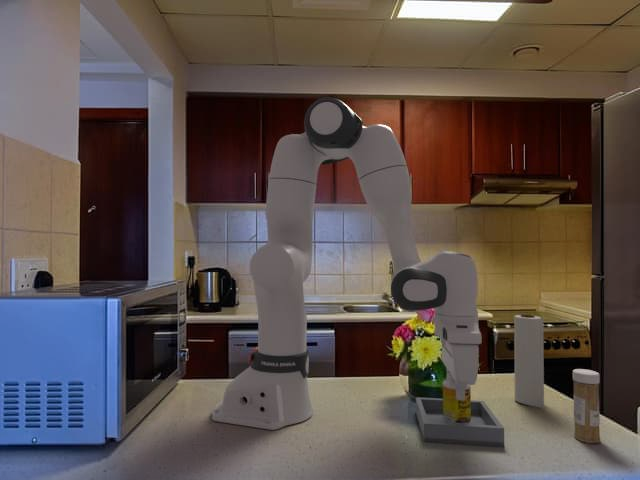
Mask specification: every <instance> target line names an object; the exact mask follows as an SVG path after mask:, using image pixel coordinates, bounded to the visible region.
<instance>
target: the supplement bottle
mask: <svg viewBox="0 0 640 480" xmlns="http://www.w3.org/2000/svg"><path fill="white" fill-rule="evenodd" d="M471 389H472V388H471V385H467V387H466V391H465V400H457V399H456V397H455V380H454V378H453V377H452V375H451V374H450V372H449V371H447V370H446V379H444V380H443V382H442V399H443V418H444V420H445V421H446V422H447V423H456V424H469V423H470V421H471V400H472V399H471V398H472V397H471Z"/></svg>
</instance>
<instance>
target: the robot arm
mask: <svg viewBox="0 0 640 480" xmlns="http://www.w3.org/2000/svg"><path fill="white" fill-rule="evenodd" d="M303 124H304V132H302V133H300V134H297V133H296V134H295V133H291V134H287V135H284V136H282V137H281V138H280V139H279V140H278V142H277V144H276V146H275V149H274V153H273V156H272V161H271V165H270V171H269V177H268V186H267V195H266V204H265V219H266V229H267V242H266V244H263V245H262V246H261V247H259V248H258V249H257V250H256V251H255V252H254V254H253V255H252V257H251V259H250V262H249V272H250V273H249V274H250V276H251V278H252V281H253V288H254V289H253V290H254V296H255V301H256V302H255V303H256V308H257V316H258V325H257V326H258V328H257V329H258V330H257V333H258V334H257V335H258V336H257V338H258V339H257V340H258V341H257V346H256V347H255V348H253V349H252V351H251V353H250V354H249V356H248V360H247V361H248V363H249V367H247V368H246V369H245V370H244V371H242V372H241V373H240V374H238V375H237V376H236V377H235V378H233V379H232V380H231V381H230V382H229V383H228V385H227V386H226V388H225V390H224V394H223V399H222V400H221V401H220V402H218V403H217V404H216V405H215V406H214V408H213V409H212V412H211V418H212V421H214V422H220V423H226V424H231V425H232V424H233V425H238V426H239V425H240V426H245V427H246V426H247V427H250V428H251V427H253V428H258V429H264V430H265V429H266V430H271V431H273V430H278V429H280V428H283V427H286V426H290V425H295V424H298V423H302V422H304V421H306V420H308V419H310V418H311V417H312V416H313V413H314V411H313V407H312V403H311V399H310V393H309V385H308V374H309V370H310V369H309V367H310V366H309V363H310V361H309V360H310V359H309V351H308V349H307V334H308V333H307V331H308V330H307V329H308V328H307V327H308V326H307V325H308V321H307V320H308V319H307V316H308V314H307V311H306V306H305V305H306V304H305V295H304V283H305V282H306V281H307V279H308V278H309V275H310V274H311V271H312V260H313V259H312V258H313V257H312V256H313V235H314V234H313V233H314V232H313V231H314V229H313V226H314V225H313V224H314V223H313V221H314V219H313V218H314V212H315V211H314V210H315V200H316V192H317V184H318V182H317V181H318V174H319V169H320V166H321V165H322V166H323V165H324V166H325V165H326V166H327V165H330V164H333V163H338V162H339V163H340V162H344V161H346V160H348V159H350V160H351V161H352V163H353V165H354V168H355V172H356V175H357V178H358V179H357V180H358V184H359V186H360V190H361V192H362V196H363V197H364V199H365V203H366V205H367V206H368V208H369V210H370V211H371V213H372V215H373V216H374V217H375V218H376V220H377V222H379V225H380V226H381V228H382V230H383V232H384V235H385V238H386V241H387V246H388V249H389V253H390V256H391V259H392V264H393V275H392V279H391V283H390V293H391V297H392V299H393V300H394V302H395V304H396V305H397V306H399V307H400V308H401V309H403V310H404V311H405V310H406V311H408V312H421V311H424V310H425V311H426V310H430V309H431V310H432V309H433V310H434V335H435V336H437V337H440V341H441V343H442V344H443V345H442V357H441V356H440V360H441V362H442V363H443V365H444V366H445V367H446V372H447V371H449V372H450V374H451V375H452V377H453V378H454V380H455V397H456V399H457V400H465V391H466V387H467V385H470V386H474V385H476V383H477V381H478V375H479V373H478V372H479V371H478V370H479V351H480V350H479V345H481V344H482V340H483V339H482V338H483V337H482V333H481V331H480V328H479V310H478V309H477V298H478V295H479V286H478V284H479V282H478V281H479V280H478V271H477V265H476V263H475V260H474V258H473V257H471V256H470V255H468V254H466V253H463V252H459V251H458V252H457V251H449V250H440V251H438V252H437V253H436V254H434V255H432V256H431V257H429V258H427V259H425V260H423V261H422V260H421V258H420V256H419V253H418V252H419V251H418V248H417V246H416V242H415V237H414V234H413V229H412V223H411V213H412V212H411V211H412V202H413V201H412V199H413V197H412V195H413V194H412V185H411V184H412V183H411V179H410V178H411V177H410V173H409V169H408V165H407V161H406V158H405V155H404V153H403V150H402V147H401V145H400V143H399V140H398V139H397V137H396V135H395V133H394V131H393V130H392V129H391V127H390V126H387V125H384V124H377V123H376V124H371V125H367V126H364V125H363V120H362V118H361V117H359V115H357V113H356V112H354V110H352V109H351V108H350V106H348V105H347V104H346V103H344V102H343V101H342V100H340V99H337V98H335V97H329V96H327V97H325V96H324V97H321V98H319V99H316V100H315V101H314V102H313V103H311V105H309V107H308V108H307V111H306V112H305V115H304V123H303Z"/></svg>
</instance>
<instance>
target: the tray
mask: <svg viewBox="0 0 640 480" xmlns="http://www.w3.org/2000/svg"><path fill="white" fill-rule="evenodd" d="M415 415H416V419H417V421H418V422H419V423H418V425H419V430H420V433H421V437H422V440H423V442H424V443H436V444H437V443H438V444H451V445H452V444H453V445H468V446H484V447H496V448H497V447H499V448H505V427H504V426H503V424H502V423H501V422H500V421H499V419H498V418H497V416H496V415H495V414H494V413H493V411H492V410H491V409H490V407H488V404H487V403H486V402H485V401H484V400H473V399H471V421H470V423H469V424H456V423H447V422H446V421H445V420H444V418H443V398H434V397H416V396H415Z"/></svg>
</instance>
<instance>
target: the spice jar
mask: <svg viewBox="0 0 640 480" xmlns="http://www.w3.org/2000/svg"><path fill="white" fill-rule="evenodd" d="M600 377H601V376H600V373H599V372H597V371H594V370H591V369H584V368H575V369H573V370H572V382H573V420H574V425H573V426H574V432H573V436H574V438H575V439H577V440H578V441H580V442H582V443H586V444H598V443H600V442H601V435H600V424H601V422H600V420H601V419H600V418H601V417H600V395H599V386H600V379H601V378H600Z"/></svg>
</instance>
